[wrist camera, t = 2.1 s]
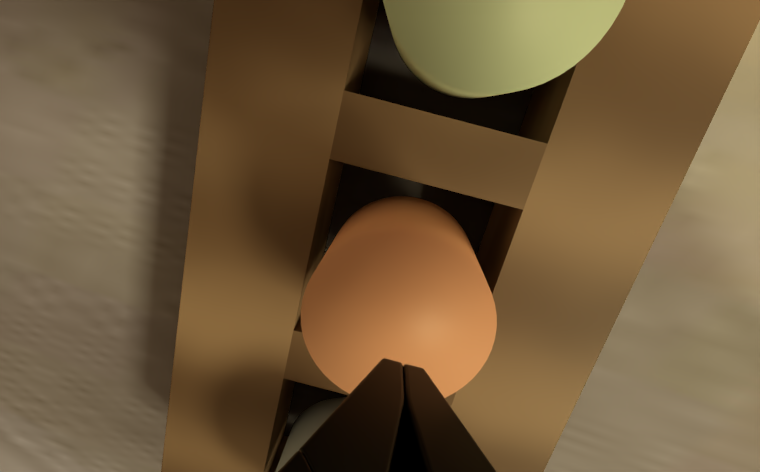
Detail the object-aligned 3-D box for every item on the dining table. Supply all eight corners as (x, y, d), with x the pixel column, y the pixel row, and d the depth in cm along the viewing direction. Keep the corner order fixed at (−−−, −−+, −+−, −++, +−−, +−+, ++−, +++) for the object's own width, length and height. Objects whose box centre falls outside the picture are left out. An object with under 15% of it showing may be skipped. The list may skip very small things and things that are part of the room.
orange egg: (449, 344, 15) (461, 426, 11) (318, 310, 15) (285, 380, 11) (492, 217, 13) (525, 261, 9) (348, 179, 13) (321, 207, 9)
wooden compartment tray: (478, 503, 20) (490, 581, 17) (200, 430, 20) (158, 494, 17) (716, -53, 13) (821, -109, 10) (286, -166, 13) (243, -262, 10)
